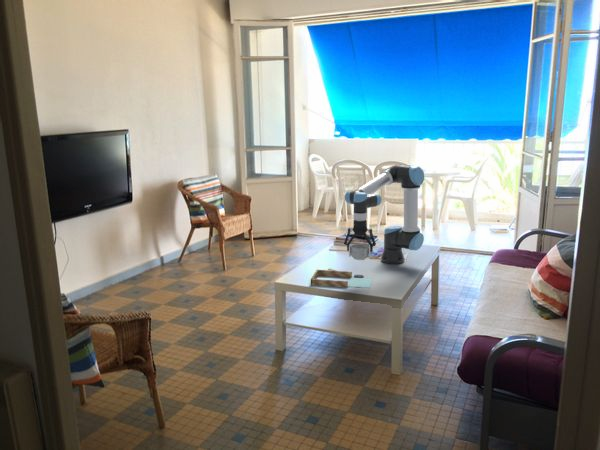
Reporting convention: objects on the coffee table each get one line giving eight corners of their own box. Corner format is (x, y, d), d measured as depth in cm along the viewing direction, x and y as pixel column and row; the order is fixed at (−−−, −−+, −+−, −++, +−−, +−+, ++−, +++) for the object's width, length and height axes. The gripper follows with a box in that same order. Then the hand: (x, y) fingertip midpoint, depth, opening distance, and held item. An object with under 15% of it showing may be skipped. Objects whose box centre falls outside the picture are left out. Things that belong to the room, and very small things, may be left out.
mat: (372, 279, 314) (372, 278, 314) (369, 288, 299) (369, 287, 299) (350, 277, 317) (350, 277, 317) (347, 286, 302) (347, 286, 302)
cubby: (351, 277, 318) (351, 271, 317) (347, 287, 300) (347, 281, 299) (316, 275, 323) (316, 269, 322) (310, 285, 305) (310, 279, 304)
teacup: (349, 256, 311) (349, 243, 309) (367, 255, 312) (367, 242, 310) (353, 263, 298) (353, 249, 296) (372, 262, 298) (372, 249, 297)
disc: (364, 275, 321) (364, 275, 321) (363, 278, 316) (363, 278, 316) (354, 274, 323) (354, 274, 323) (353, 277, 317) (353, 277, 317)
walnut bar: (343, 275, 323) (343, 272, 323) (341, 276, 322) (341, 273, 321) (329, 271, 332) (329, 268, 331) (327, 271, 331) (327, 269, 330)
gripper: (381, 219, 301) (380, 256, 305) (340, 217, 306) (340, 254, 311) (380, 221, 293) (379, 259, 298) (338, 220, 299) (338, 257, 304)
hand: (359, 256), depth 305 cm, fingers closed on teacup, 11 cm apart
